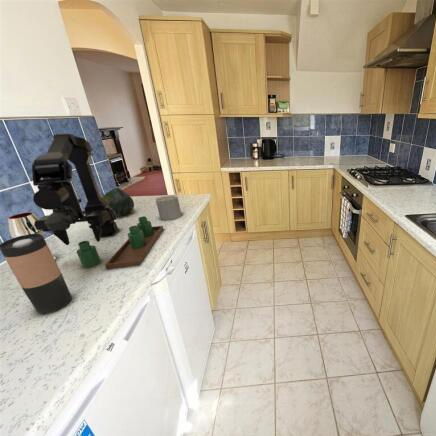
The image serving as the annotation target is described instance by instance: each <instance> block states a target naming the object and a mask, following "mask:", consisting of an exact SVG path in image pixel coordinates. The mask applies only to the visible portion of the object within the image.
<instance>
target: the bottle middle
mask: <svg viewBox="0 0 436 436" xmlns="http://www.w3.org/2000/svg"><path fill="white" fill-rule="evenodd" d="M128 230H129V232H128V233H127V237H128V239H129V241H130V244H131V247H132V248H133V249H139V248H142V247H144V246H145V245H146V241H145V238H144V234H143V231H142V230H139V229H138V226H137V225H132V226H129V227H128Z"/></svg>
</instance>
